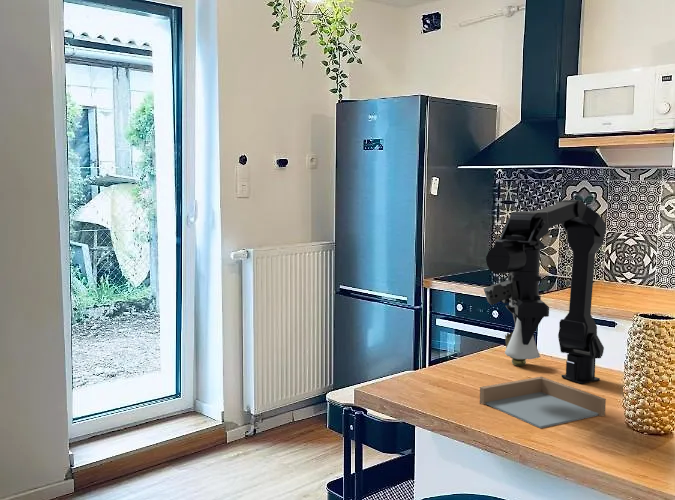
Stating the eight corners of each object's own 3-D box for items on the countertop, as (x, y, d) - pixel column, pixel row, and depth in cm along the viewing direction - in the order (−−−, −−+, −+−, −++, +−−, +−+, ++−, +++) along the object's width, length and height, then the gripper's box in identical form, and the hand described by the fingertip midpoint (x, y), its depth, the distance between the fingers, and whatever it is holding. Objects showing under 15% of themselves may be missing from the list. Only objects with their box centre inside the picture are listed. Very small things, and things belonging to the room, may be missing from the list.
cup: (528, 370, 165) (529, 339, 164) (500, 365, 169) (501, 335, 168) (536, 363, 171) (537, 334, 171) (509, 359, 175) (510, 330, 175)
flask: (515, 361, 135) (516, 314, 134) (498, 353, 142) (500, 308, 141) (546, 359, 137) (547, 313, 136) (528, 351, 144) (529, 307, 143)
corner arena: (540, 391, 147) (541, 376, 147) (605, 415, 132) (605, 398, 131) (479, 402, 139) (480, 387, 139) (540, 429, 123) (540, 412, 123)
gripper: (480, 265, 148) (479, 331, 149) (494, 275, 129) (492, 351, 131) (530, 265, 147) (528, 333, 148) (551, 276, 128) (548, 352, 130)
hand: (522, 341), depth 139 cm, fingers closed on flask, 5 cm apart
